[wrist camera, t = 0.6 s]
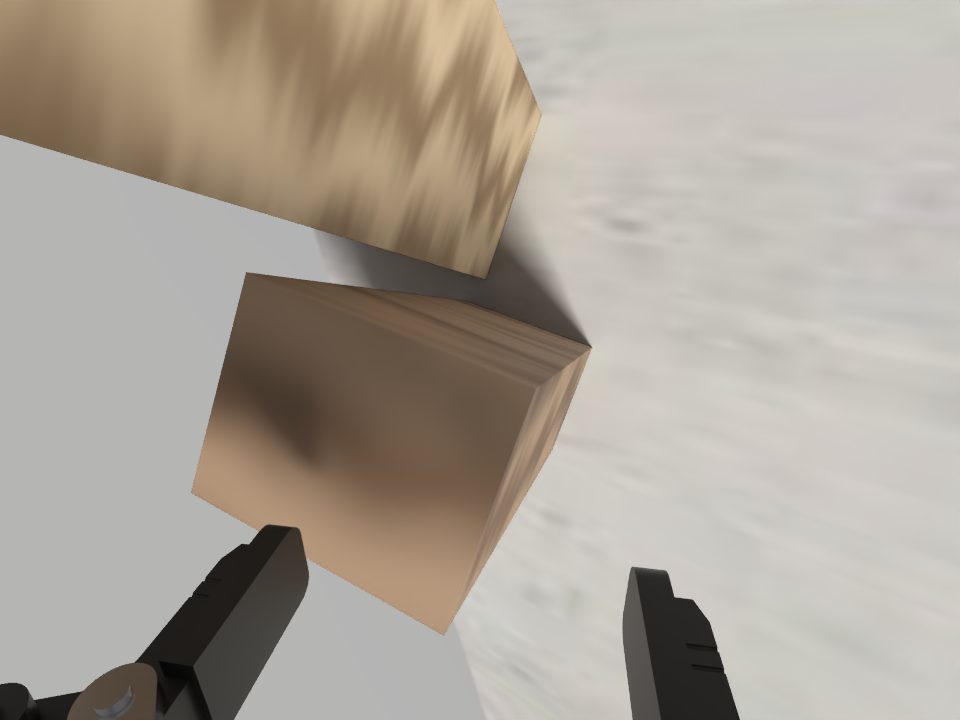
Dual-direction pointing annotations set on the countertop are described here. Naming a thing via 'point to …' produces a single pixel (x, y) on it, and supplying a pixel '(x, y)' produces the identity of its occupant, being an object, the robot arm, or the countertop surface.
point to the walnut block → (384, 431)
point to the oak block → (289, 109)
